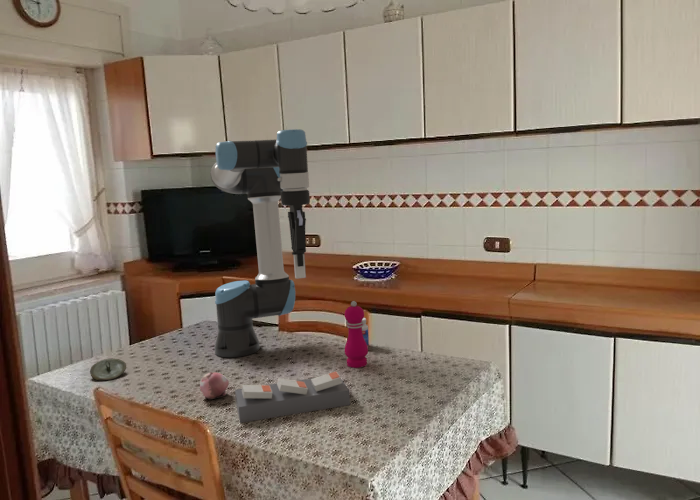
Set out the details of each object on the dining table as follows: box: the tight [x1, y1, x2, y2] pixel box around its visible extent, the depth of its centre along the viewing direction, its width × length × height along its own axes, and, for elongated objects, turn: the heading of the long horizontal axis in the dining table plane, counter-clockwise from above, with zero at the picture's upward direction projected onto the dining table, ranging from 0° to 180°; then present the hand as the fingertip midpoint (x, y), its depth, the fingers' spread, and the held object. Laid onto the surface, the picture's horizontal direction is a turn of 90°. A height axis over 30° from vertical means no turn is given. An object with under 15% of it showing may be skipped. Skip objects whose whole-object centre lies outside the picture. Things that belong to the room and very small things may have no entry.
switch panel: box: [234, 377, 351, 424], centre depth 152 cm, size 12×28×4 cm, turn 105°
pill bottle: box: [362, 317, 370, 348], centre depth 196 cm, size 6×5×10 cm
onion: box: [199, 371, 230, 401], centre depth 160 cm, size 8×8×7 cm
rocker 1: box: [241, 384, 272, 399], centre depth 147 cm, size 5×7×2 cm
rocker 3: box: [310, 370, 343, 392], centre depth 152 cm, size 5×7×2 cm
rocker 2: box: [276, 377, 308, 394], centre depth 150 cm, size 5×7×2 cm
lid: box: [89, 358, 127, 382], centre depth 182 cm, size 11×10×5 cm
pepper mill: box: [344, 300, 369, 369], centre depth 179 cm, size 7×7×20 cm
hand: (300, 277), depth 157 cm, fingers closed
